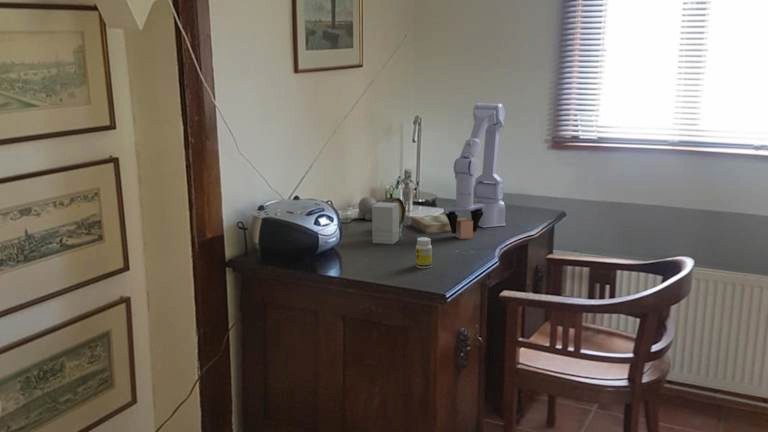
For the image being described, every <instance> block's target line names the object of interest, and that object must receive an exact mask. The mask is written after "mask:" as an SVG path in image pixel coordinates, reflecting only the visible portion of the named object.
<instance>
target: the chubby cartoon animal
mask: <svg viewBox="0 0 768 432" xmlns="http://www.w3.org/2000/svg"><path fill="white" fill-rule="evenodd" d="M383 201H384V200H381V201H380V202H383ZM376 203H378V202H377V201H376V199H375V198H374V197H371V196H364V197H362V198H361V199H360V201H359V203H358V206H357V207H358V213H357V219H360V220H363V219H365V220H366V221H372V206H373V205H375V204H376Z"/></svg>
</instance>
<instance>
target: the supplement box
mask: <svg viewBox="0 0 768 432" xmlns="http://www.w3.org/2000/svg"><path fill="white" fill-rule="evenodd" d="M371 225H372V227H371V229H372V231H371V233H372V234H371V235H372V237H371V238H372V243H373V244H385V245H386V244H387V245H394V244H395V243H396V242H398V241H399V240H400V228H399V203H386V202H381V201H378V202H377V203H376V204H375V205H373V206H372V219H371Z"/></svg>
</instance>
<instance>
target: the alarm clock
mask: <svg viewBox="0 0 768 432" xmlns="http://www.w3.org/2000/svg"><path fill="white" fill-rule="evenodd" d="M391 188H392V192H391V193H390V190H391ZM394 188H395V187H394V186H393V185H391V186H389V188H388V194H389V197H386V198H384V200H382V201H383V202H386V203H399V229H402V227H401V226H402V225H403V223H404V220H405V216H406V215H405V208H404V202H403V200H402V199H401V198H399V197H394V196H393V194H394V191H395V189H394Z"/></svg>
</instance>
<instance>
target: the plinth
mask: <svg viewBox="0 0 768 432" xmlns="http://www.w3.org/2000/svg"><path fill="white" fill-rule="evenodd" d="M410 225H411V226H412V227H414V228H416V229H418V230H420V231H421V232H423V233H425V234H436V233H443V232H445V233H447V232H451V227H450V223H449V221H448V218H447V216H446V214H445V213H439V214H429V215H418V216H417V215H416V216H411V217H410Z"/></svg>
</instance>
